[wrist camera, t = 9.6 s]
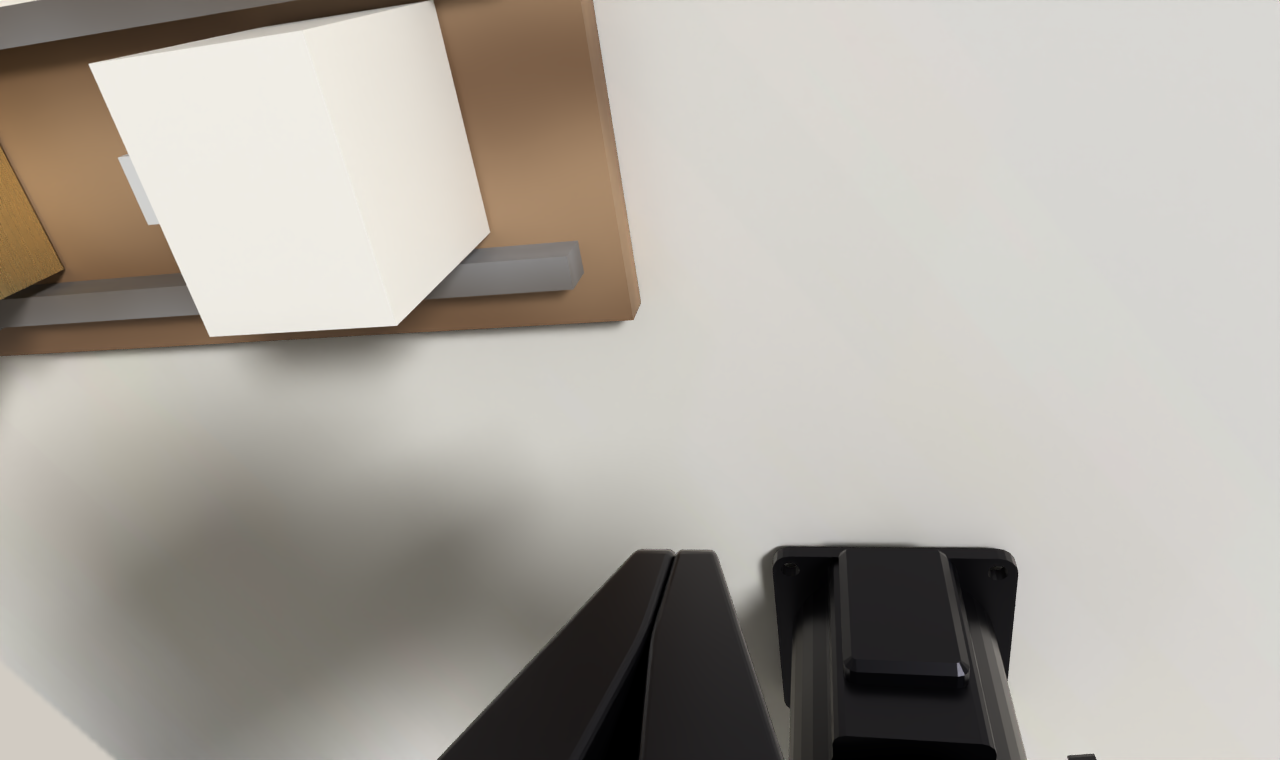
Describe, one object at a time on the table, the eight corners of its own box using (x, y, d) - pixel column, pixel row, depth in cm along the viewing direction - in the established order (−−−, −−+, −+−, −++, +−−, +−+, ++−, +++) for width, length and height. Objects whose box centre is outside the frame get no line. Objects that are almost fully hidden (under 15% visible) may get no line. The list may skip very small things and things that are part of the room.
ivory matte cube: (490, 232, 19) (396, 326, 15) (268, 251, 20) (124, 341, 16) (433, -1, 17) (302, 30, 12) (186, 39, 18) (-8, 79, 14)
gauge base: (641, 302, 20) (570, 464, 14) (10, 342, 25) (-242, 476, 19) (521, -450, 14) (298, -727, 8) (-308, -209, 18) (-846, -266, 12)
